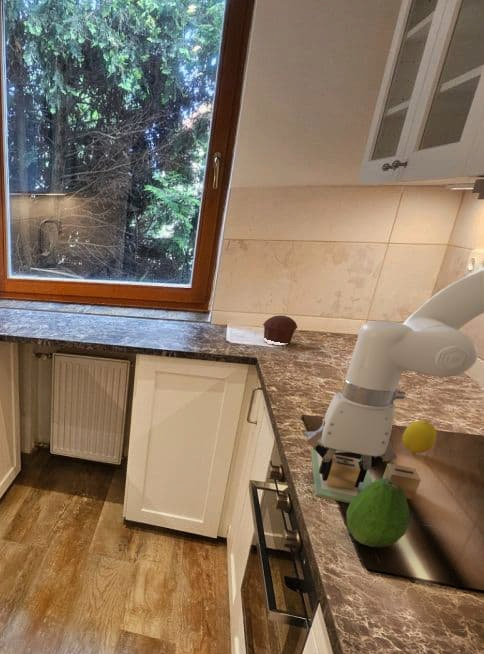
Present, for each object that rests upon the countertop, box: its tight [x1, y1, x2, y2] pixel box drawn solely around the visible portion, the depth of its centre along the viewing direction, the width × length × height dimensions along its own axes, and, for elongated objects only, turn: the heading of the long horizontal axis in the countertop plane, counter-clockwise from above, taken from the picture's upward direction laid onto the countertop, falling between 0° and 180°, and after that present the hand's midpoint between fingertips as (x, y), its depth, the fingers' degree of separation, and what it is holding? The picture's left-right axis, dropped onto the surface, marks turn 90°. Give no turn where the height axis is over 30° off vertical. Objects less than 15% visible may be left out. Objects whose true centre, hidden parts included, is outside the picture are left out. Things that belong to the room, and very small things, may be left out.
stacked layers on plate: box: [302, 412, 347, 454], centre depth 107 cm, size 10×9×6 cm
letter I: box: [381, 463, 422, 500], centre depth 89 cm, size 4×4×4 cm
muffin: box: [262, 315, 298, 344], centre depth 176 cm, size 12×11×10 cm
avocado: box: [346, 478, 410, 548], centre depth 74 cm, size 8×8×12 cm
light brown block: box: [326, 453, 360, 490], centre depth 89 cm, size 4×4×5 cm
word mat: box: [310, 449, 373, 504], centre depth 94 cm, size 10×18×1 cm, turn 154°
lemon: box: [401, 419, 438, 455], centre depth 101 cm, size 6×6×8 cm
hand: (339, 479), depth 90 cm, fingers closed on light brown block, 4 cm apart
